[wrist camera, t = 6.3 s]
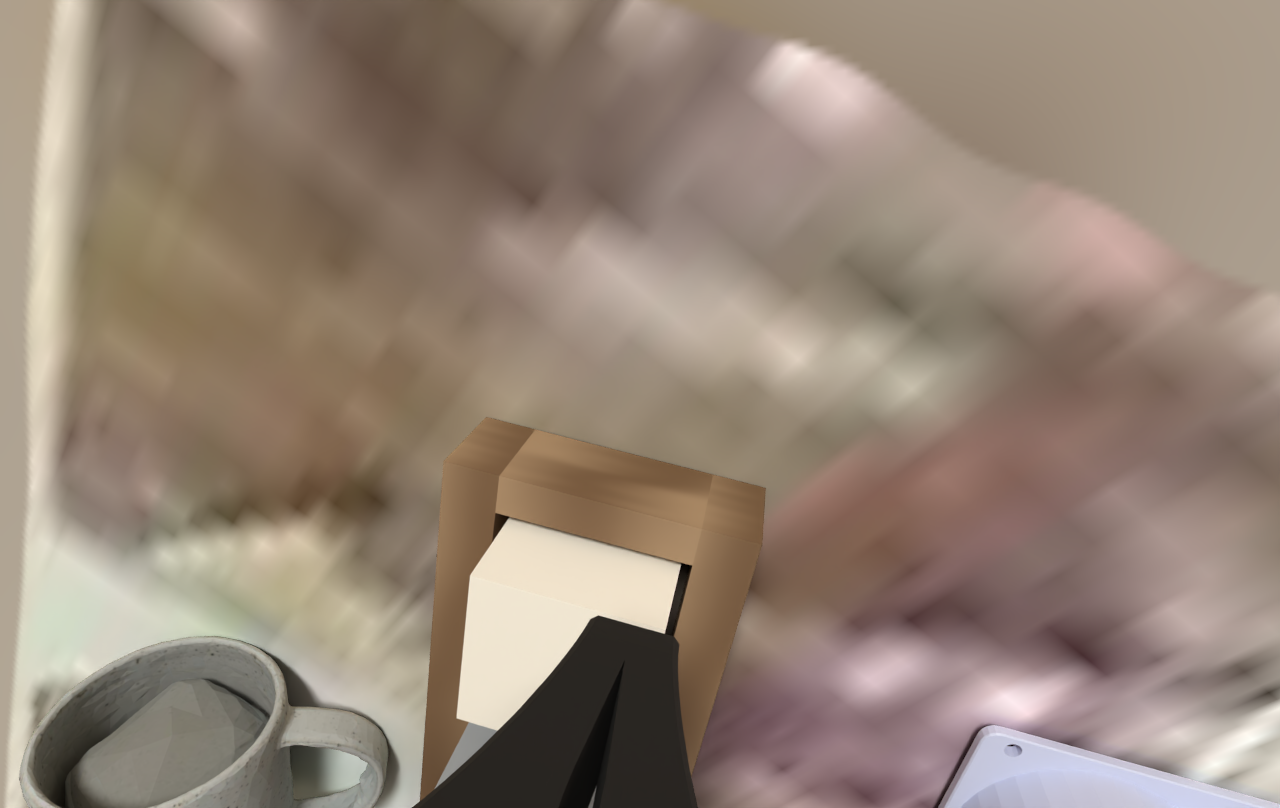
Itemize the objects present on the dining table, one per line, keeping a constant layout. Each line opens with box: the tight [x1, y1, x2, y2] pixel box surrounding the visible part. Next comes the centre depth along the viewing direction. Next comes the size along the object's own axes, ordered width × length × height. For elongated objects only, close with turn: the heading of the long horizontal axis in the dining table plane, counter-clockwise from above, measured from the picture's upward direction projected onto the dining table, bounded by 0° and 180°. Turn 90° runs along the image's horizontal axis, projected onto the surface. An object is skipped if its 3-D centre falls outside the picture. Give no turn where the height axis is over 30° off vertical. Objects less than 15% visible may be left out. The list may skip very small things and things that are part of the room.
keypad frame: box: [420, 417, 766, 801], centre depth 26 cm, size 9×27×3 cm, turn 170°
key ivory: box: [456, 517, 681, 731], centre depth 20 cm, size 5×5×4 cm
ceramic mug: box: [19, 636, 388, 808], centre depth 26 cm, size 11×8×8 cm
